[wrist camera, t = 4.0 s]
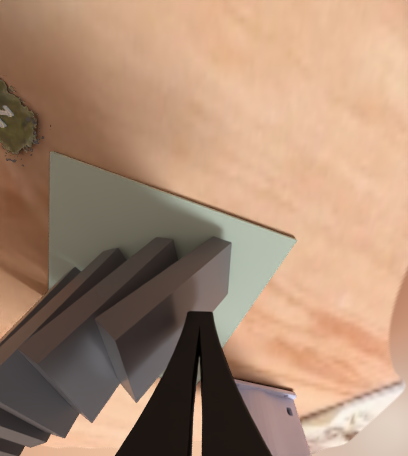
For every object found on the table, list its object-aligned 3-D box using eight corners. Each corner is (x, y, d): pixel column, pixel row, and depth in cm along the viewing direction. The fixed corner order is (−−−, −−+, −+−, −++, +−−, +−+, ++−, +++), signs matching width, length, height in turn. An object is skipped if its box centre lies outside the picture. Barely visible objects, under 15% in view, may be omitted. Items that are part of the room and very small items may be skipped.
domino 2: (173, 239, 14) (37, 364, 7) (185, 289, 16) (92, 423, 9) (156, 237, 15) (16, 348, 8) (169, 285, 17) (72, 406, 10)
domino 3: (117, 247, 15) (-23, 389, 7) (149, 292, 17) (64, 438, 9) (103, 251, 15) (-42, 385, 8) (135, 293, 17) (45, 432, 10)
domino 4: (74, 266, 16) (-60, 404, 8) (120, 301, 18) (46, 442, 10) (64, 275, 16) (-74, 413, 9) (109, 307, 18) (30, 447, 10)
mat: (295, 238, 15) (297, 240, 15) (196, 382, 25) (196, 385, 24) (53, 151, 12) (49, 151, 12) (49, 351, 22) (47, 354, 22)
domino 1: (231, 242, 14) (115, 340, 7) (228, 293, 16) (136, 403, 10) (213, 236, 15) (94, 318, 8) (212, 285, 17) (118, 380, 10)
